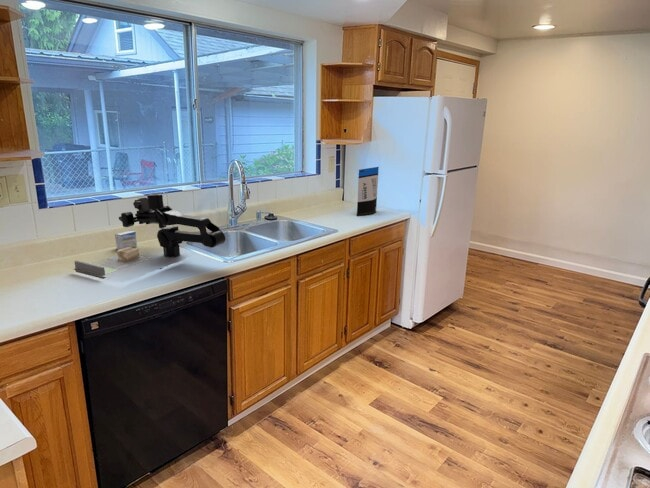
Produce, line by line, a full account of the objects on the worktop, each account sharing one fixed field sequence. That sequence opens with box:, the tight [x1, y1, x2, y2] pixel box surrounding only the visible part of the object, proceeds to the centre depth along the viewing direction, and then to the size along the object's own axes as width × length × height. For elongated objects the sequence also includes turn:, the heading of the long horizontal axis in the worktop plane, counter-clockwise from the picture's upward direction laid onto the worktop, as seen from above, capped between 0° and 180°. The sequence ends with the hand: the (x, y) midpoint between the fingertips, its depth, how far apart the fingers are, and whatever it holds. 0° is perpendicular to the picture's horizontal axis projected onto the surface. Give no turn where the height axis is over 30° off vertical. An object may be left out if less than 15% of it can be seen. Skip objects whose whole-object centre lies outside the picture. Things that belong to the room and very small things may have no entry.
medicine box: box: [114, 230, 138, 250], centre depth 205 cm, size 8×4×9 cm, turn 148°
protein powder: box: [356, 166, 380, 217], centre depth 292 cm, size 10×24×30 cm, turn 143°
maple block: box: [116, 247, 140, 262], centre depth 190 cm, size 6×6×4 cm
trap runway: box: [73, 254, 152, 280], centre depth 184 cm, size 16×24×4 cm, turn 154°
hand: (127, 216), depth 202 cm, fingers open, 9 cm apart
